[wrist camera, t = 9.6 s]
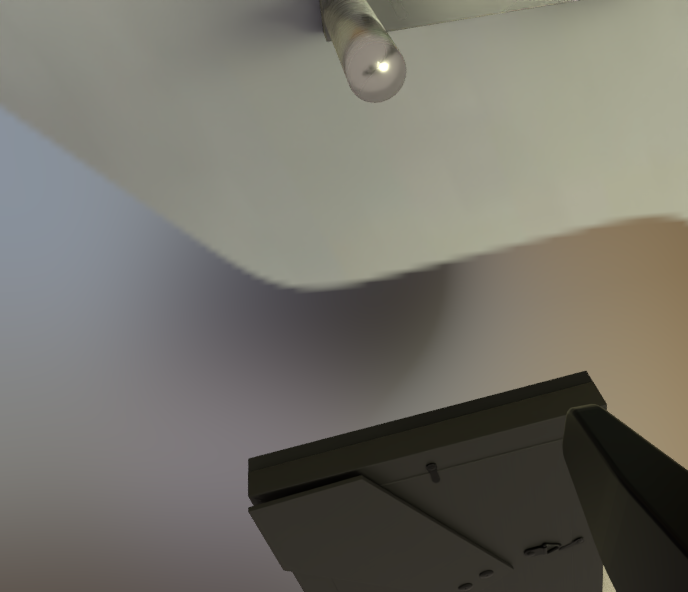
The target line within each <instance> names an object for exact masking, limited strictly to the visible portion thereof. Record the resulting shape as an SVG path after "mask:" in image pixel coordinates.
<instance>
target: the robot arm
mask: <svg viewBox="0 0 688 592" xmlns="http://www.w3.org/2000/svg"><path fill="white" fill-rule="evenodd" d="M562 449H563V455H564V459H565V462H566V465H567V467H568V470H569V473H570V476H571V479H572V481H573V484H574V487H575V490H576V493H577V495H578V498H579V501H580V504H581V506H582V509H583V512H584V515H585V518H586V520H587V523H588V526H589V529H590V531H591V534H592V537H593V540H594V543H595V545H596V548H597V550H598V553H599V556H600V558H601V560H602V563H603V565H604V567H605V569H606V571H607V574H608V576H609V578H610V580H611V582H612V584H613V586H614V588H615V590H616V592H688V470H686V469H685V468H684V467H682V466H681V465H680V464H678V463H677V462H676V461H674V460H673V459H671V458H670V457H669V456H667V455H666V454H665V453H663V452H662V451H661V450H659V449H658V448H657V447H655V446H654V445H652V444H651V443H650V442H648V441H647V440H646V439H644V438H643V437H642V436H640V435H639V434H637V433H636V432H635V431H633V430H632V429H631V428H629V427H628V426H627V425H625V424H624V423H623V422H621V421H620V420H619V419H617V418H616V417H615V416H613V415H612V414H610V413H609V412H608V411H607V410H605V409H604V408H602V407H601V406H599V405H596V404H589V405H584V406H578V407H573V408H570V409H569V410H568V412H567V415H566V421H565V428H564V435H563V442H562Z"/></svg>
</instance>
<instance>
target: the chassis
mask: <svg viewBox="0 0 688 592" xmlns="http://www.w3.org/2000/svg"><path fill="white" fill-rule="evenodd" d="M572 1H578V0H319V2H320V9H321V17H322V24H323V32H324V35H325V38H326V41H327V42H328V41H332V42H333V45H334V48H335V50H336V53H337V55H338V58H339V60H340V63H341V65H342V68H343V70H344V73H345V75H346V78H347V81H348V83H349V86H350V88H351V90H352V91H353V92H354V94H355V95H356V96H358V97H359V98H360V99H362V100H364V101H367V102H374V103H376V102H382V101H385V100H388V99H390V98H391V97H393V96H394V95H395V94H396V93H397V92H398V91H399V90H400V88H401V87H402V85H403V83H404V80H405V77H406V64H405V61H404V58H403V56H402V55H401V53H400V52H399V50H398V48H397V47H396V45H395V44H394V42H393V41H392V39H391V38H390V36H389V35H388V33H387V32H389V31H395V30H401V29H407V28H413V27H419V26H425V25H432V24H438V23H444V22H450V21H456V20H462V19H468V18H474V17H480V16H486V15H493V14H499V13H505V12H511V11H517V10H523V9H529V8H535V7H541V6H548V5H554V4H560V3H566V2H572Z"/></svg>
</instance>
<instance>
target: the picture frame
mask: <svg viewBox="0 0 688 592" xmlns="http://www.w3.org/2000/svg"><path fill="white" fill-rule="evenodd" d="M589 404H596V405H599V406H601V407H602V408H604V409H605V410H607V404H606V402H605V401H604V399H603V397H602V395H601V394H600V392H599V391H598V389H597V387H596V386H595V384H594V382H593V381H592V379H591V377H590V376H589V374H588V372H587V371H582V372H579V373H574V374H571V375H567V376H563V377H559V378H556V379H552V380H548V381H544V382H540V383H536V384H532V385H528V386H525V387H521V388H517V389H513V390H509V391H505V392H502V393H498V394H494V395H490V396H486V397H482V398H478V399H475V400H471V401H467V402H463V403H460V404H455V405H452V406H448V407H444V408H440V409H436V410H433V411H429V412H425V413H421V414H417V415H413V416H410V417H406V418H402V419H398V420H394V421H390V422H387V423H383V424H379V425H375V426H371V427H367V428H364V429H359V430H356V431H352V432H348V433H344V434H340V435H337V436H333V437H329V438H325V439H321V440H317V441H314V442H310V443H306V444H302V445H298V446H294V447H290V448H287V449H283V450H279V451H275V452H271V453H267V454H264V455H260V456H256V457H252V458H249V459H248V496H249V498H250V500H251V502H252V504H253V505H254V506H252V507H249V508H248V509H249V510H248V512H249V514H250V515H251V517H252V519H253V520H254V522H255V523H256V525H257V527H258V528H259V530H260V532H261V534H262V535H263V537H264V539H265V540H266V542H267V544H268V545H269V547H270V548H271V550H272V552H273V554H274V555H275V557H276V558H277V560H278V562H279V563H280V565H281V567H282V568H283V570H285V571H291V572H293V574H294V575H295V577H296V579H297V581H298V582H299V584H300V586H301V587H302V589H303V591H304V592H602V584H603V563H602V560H601V558H600V556H599V553H598V550H597V548H596V545H595V543H594V540H593V537H592V534H591V531H590V529H589V526H588V523H587V520H586V518H585V515H584V512H583V509H582V506H581V504H580V501H579V498H578V495H577V493H576V490H575V487H574V484H573V481H572V479H571V476H570V473H569V470H568V467H567V465H566V462H565V459H564V455H563V449H562V442H563V435H564V428H565V421H566V415H567V412H568V410H569V409H570V408H573V407H578V406H584V405H589Z"/></svg>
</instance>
